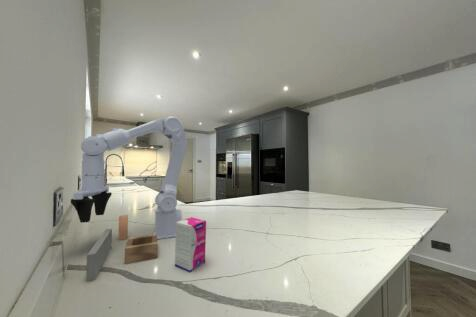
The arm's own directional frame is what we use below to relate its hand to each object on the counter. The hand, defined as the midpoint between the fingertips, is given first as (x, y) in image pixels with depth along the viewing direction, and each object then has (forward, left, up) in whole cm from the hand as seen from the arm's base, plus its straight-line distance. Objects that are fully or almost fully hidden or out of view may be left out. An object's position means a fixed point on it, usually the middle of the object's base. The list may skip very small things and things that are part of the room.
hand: (92, 218), depth 59 cm
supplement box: (-27, +22, -10) cm, 36 cm away
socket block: (-15, +11, -9) cm, 21 cm away
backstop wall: (-5, +11, -9) cm, 15 cm away
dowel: (-8, -5, -9) cm, 13 cm away
